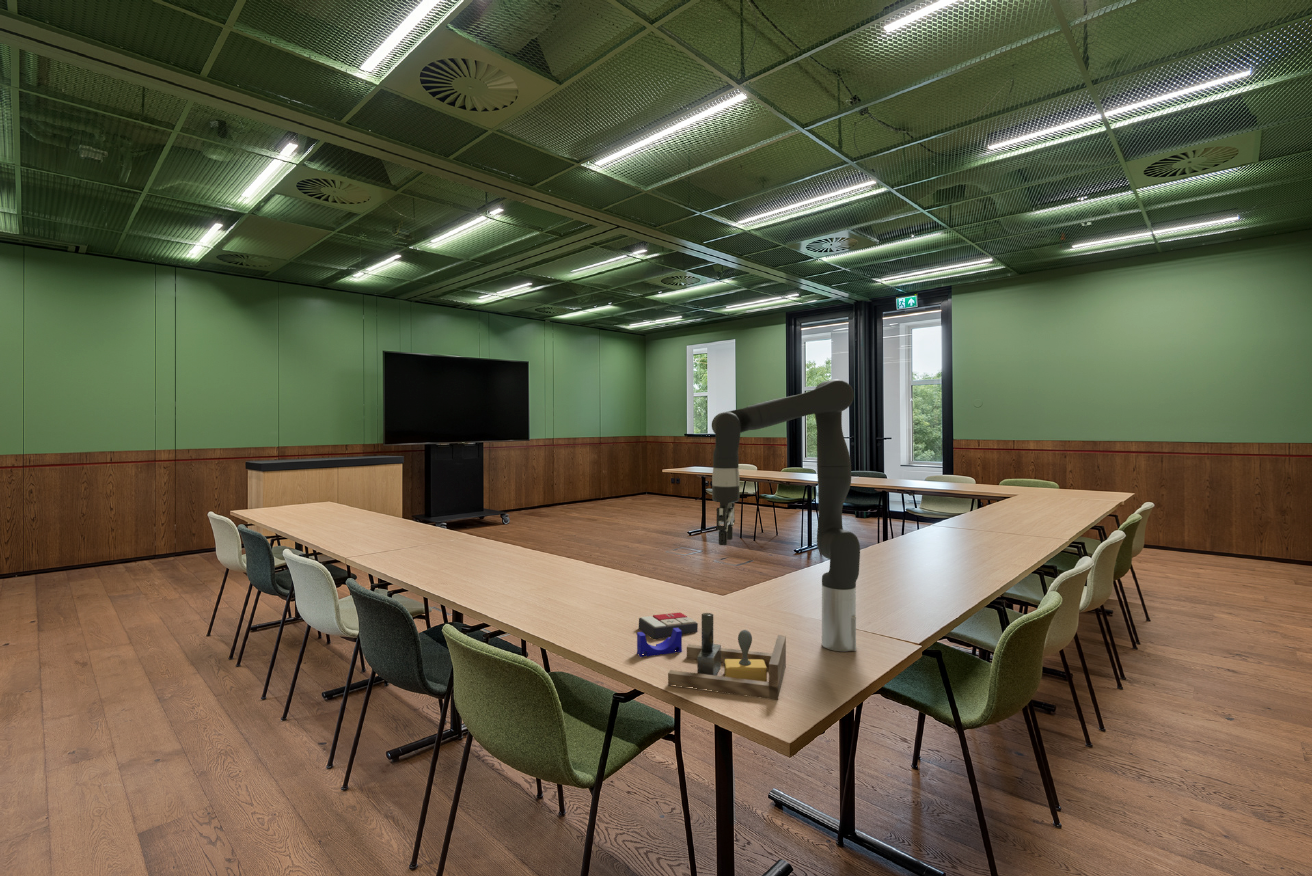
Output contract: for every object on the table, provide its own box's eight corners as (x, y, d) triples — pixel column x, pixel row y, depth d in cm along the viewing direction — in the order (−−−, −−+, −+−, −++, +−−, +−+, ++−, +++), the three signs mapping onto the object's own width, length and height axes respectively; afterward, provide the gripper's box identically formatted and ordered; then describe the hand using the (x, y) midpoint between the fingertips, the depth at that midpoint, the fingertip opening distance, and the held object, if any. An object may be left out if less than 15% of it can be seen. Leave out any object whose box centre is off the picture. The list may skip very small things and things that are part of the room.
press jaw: (720, 665, 155) (720, 610, 154) (713, 680, 146) (713, 621, 146) (705, 664, 156) (705, 608, 156) (697, 678, 147) (697, 619, 147)
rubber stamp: (725, 682, 146) (725, 633, 145) (724, 672, 151) (724, 625, 151) (766, 683, 145) (767, 634, 145) (763, 673, 151) (763, 626, 151)
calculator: (698, 620, 182) (654, 625, 175) (697, 635, 182) (653, 640, 175) (680, 611, 191) (638, 615, 185) (680, 624, 191) (637, 629, 185)
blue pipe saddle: (676, 646, 170) (676, 625, 170) (681, 652, 165) (681, 631, 165) (635, 652, 166) (635, 630, 166) (640, 658, 162) (640, 635, 161)
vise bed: (785, 666, 155) (785, 635, 155) (777, 699, 136) (777, 665, 136) (688, 655, 163) (688, 626, 163) (668, 685, 144) (668, 652, 144)
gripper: (734, 486, 158) (734, 548, 158) (743, 482, 172) (743, 538, 172) (707, 486, 160) (707, 546, 161) (717, 481, 174) (717, 537, 174)
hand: (725, 542), depth 166 cm, fingers open, 8 cm apart
